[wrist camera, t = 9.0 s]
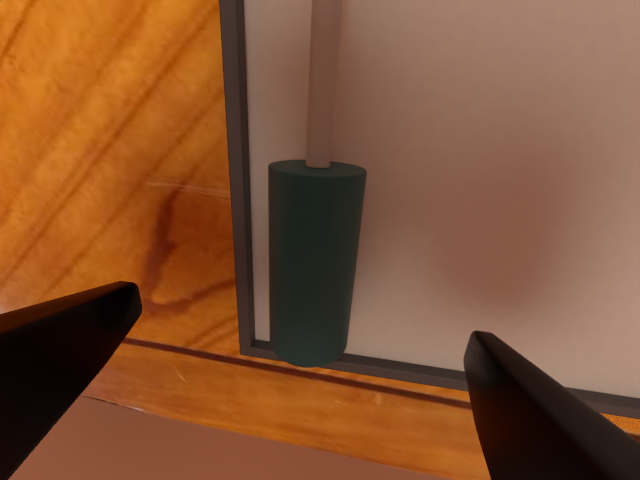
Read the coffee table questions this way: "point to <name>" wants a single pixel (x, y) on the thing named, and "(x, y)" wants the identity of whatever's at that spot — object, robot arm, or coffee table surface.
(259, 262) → the whiteboard
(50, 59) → the coffee table surface
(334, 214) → the screwdriver
